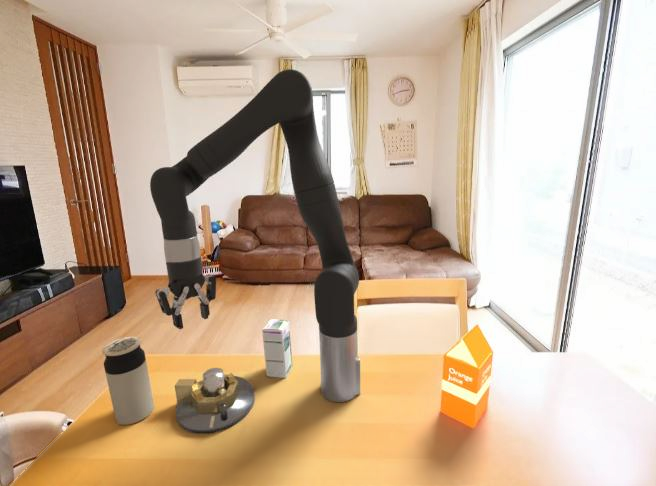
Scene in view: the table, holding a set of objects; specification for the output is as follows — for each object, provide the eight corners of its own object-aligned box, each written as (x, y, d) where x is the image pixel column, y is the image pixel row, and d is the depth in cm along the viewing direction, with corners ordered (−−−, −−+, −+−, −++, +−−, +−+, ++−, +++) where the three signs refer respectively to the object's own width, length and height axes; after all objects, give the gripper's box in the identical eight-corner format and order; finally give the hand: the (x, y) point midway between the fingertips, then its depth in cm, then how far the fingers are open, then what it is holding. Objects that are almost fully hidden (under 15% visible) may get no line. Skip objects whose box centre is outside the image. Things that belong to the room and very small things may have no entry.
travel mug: (161, 406, 81) (150, 339, 76) (130, 430, 74) (116, 358, 69) (139, 397, 84) (127, 333, 80) (108, 419, 77) (92, 350, 73)
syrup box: (286, 378, 90) (283, 329, 86) (265, 376, 91) (261, 328, 87) (292, 366, 95) (290, 319, 91) (273, 364, 96) (269, 318, 93)
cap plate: (253, 375, 91) (251, 347, 89) (255, 424, 74) (252, 391, 72) (183, 387, 87) (179, 358, 85) (168, 442, 70) (162, 407, 68)
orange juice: (488, 406, 78) (496, 328, 73) (474, 429, 71) (481, 345, 67) (455, 391, 83) (460, 318, 78) (439, 411, 77) (444, 332, 72)
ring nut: (242, 384, 85) (240, 369, 84) (230, 413, 75) (228, 396, 74) (188, 384, 86) (186, 369, 84) (169, 413, 76) (166, 396, 75)
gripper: (204, 247, 84) (211, 308, 88) (143, 260, 74) (155, 329, 78) (220, 251, 79) (227, 316, 83) (158, 267, 69) (169, 340, 73)
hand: (192, 322), depth 80 cm, fingers open, 5 cm apart
